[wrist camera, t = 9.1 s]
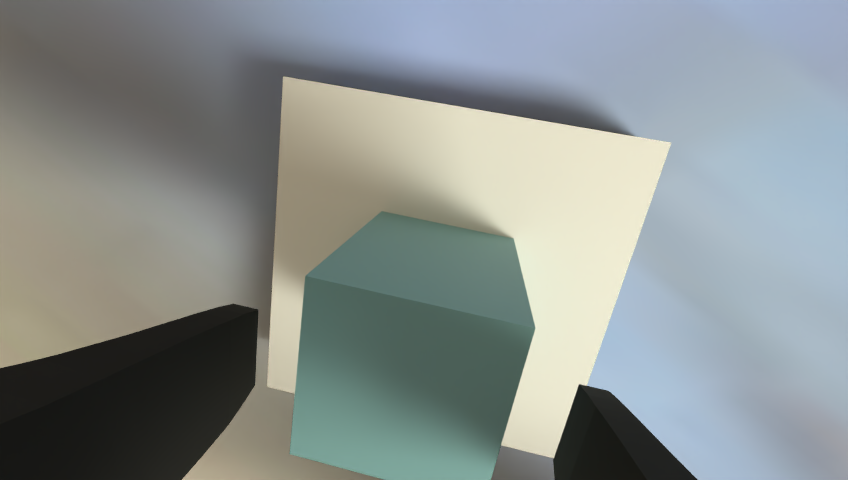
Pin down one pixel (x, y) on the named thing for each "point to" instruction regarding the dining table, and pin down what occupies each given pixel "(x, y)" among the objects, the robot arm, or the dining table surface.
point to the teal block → (411, 351)
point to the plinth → (466, 218)
